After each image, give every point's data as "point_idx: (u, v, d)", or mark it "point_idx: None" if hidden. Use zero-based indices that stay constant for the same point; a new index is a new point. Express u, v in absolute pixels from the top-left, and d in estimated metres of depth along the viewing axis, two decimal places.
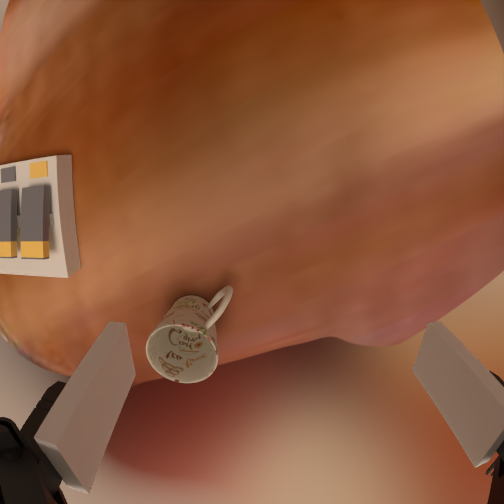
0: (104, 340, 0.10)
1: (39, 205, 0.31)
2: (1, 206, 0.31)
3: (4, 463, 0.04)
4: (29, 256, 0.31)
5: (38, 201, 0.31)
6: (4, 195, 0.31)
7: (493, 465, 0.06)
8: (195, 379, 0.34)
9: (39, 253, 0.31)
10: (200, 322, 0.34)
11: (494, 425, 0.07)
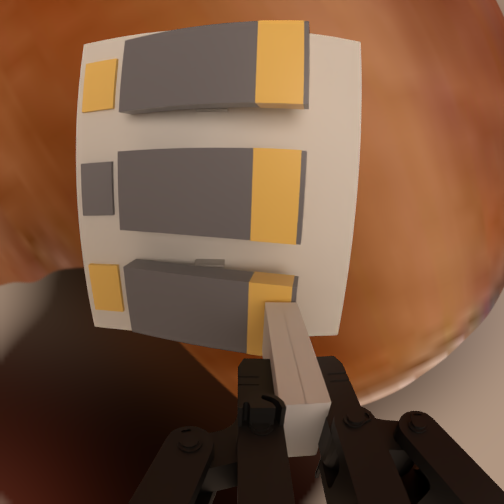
0: (275, 316, 0.13)
1: (166, 42, 0.12)
2: (154, 192, 0.14)
3: (249, 436, 0.07)
4: (300, 68, 0.11)
5: (156, 47, 0.12)
6: (130, 182, 0.14)
7: (318, 469, 0.08)
8: None
9: (291, 32, 0.11)
10: None
11: None
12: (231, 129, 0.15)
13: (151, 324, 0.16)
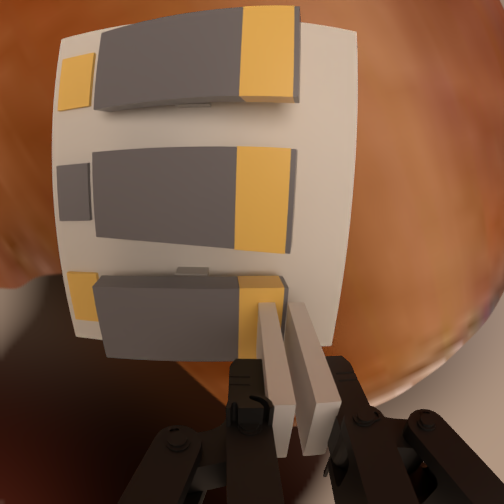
0: (267, 317, 0.13)
1: (144, 32, 0.10)
2: (130, 196, 0.13)
3: (237, 437, 0.07)
4: (290, 57, 0.10)
5: (133, 38, 0.10)
6: (105, 185, 0.13)
7: (327, 468, 0.08)
8: None
9: (280, 18, 0.09)
10: None
11: (309, 410, 0.09)
12: (214, 126, 0.14)
13: (129, 346, 0.14)
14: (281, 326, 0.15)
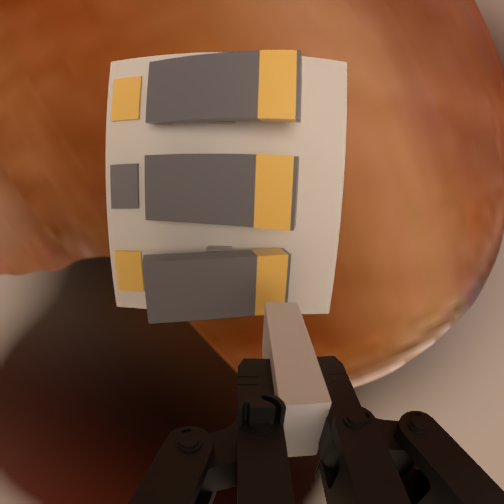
0: (275, 317, 0.13)
1: (185, 65, 0.15)
2: (176, 189, 0.18)
3: (248, 436, 0.07)
4: (293, 90, 0.15)
5: (177, 69, 0.15)
6: (155, 180, 0.18)
7: (319, 469, 0.08)
8: None
9: (286, 60, 0.14)
10: None
11: None
12: (237, 138, 0.19)
13: (170, 311, 0.18)
14: (286, 284, 0.20)
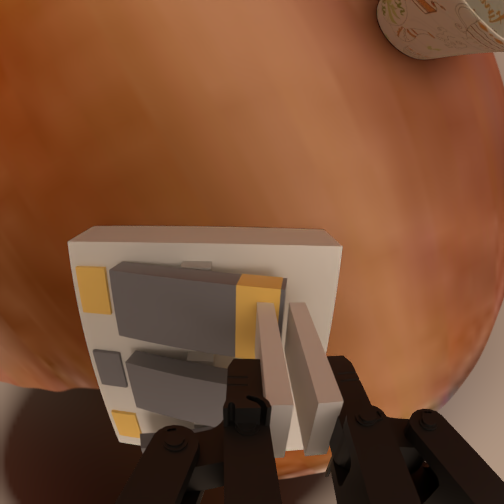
0: (266, 317, 0.13)
1: (150, 287, 0.15)
2: (161, 394, 0.17)
3: (235, 437, 0.07)
4: None
5: (141, 289, 0.15)
6: (140, 384, 0.17)
7: (329, 468, 0.08)
8: None
9: (268, 301, 0.14)
10: None
11: (311, 410, 0.09)
12: None
13: None
14: None
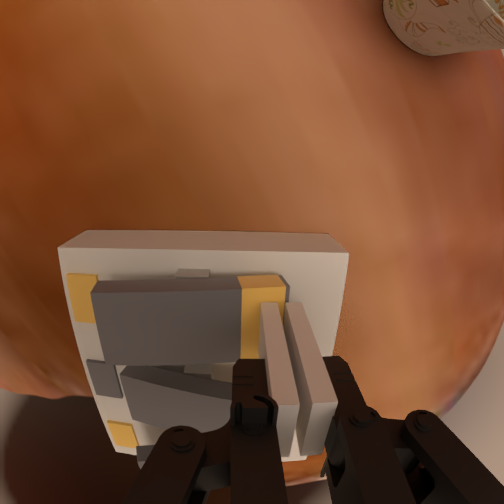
0: (270, 317, 0.13)
1: (143, 305, 0.13)
2: (157, 407, 0.16)
3: (241, 436, 0.07)
4: None
5: (133, 309, 0.13)
6: (135, 397, 0.16)
7: (324, 468, 0.08)
8: None
9: (273, 299, 0.14)
10: None
11: (306, 411, 0.09)
12: None
13: None
14: None
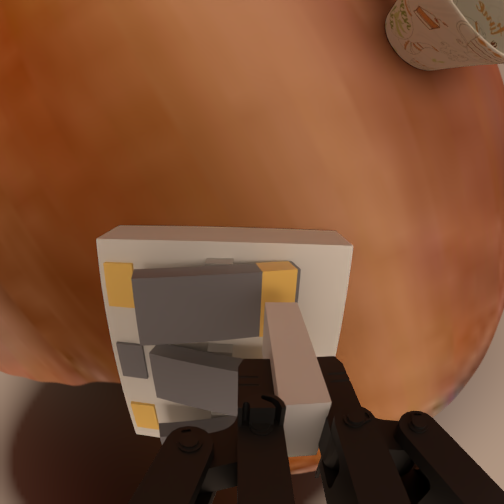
0: (275, 317, 0.13)
1: (179, 288, 0.16)
2: (181, 384, 0.19)
3: (249, 436, 0.07)
4: None
5: (170, 292, 0.16)
6: (162, 374, 0.19)
7: (319, 469, 0.08)
8: None
9: (287, 281, 0.17)
10: None
11: None
12: None
13: None
14: None
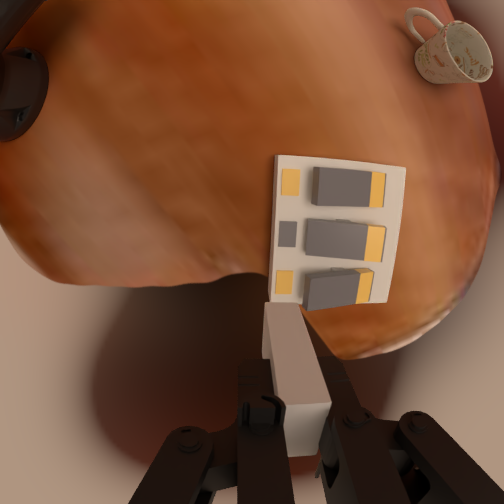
0: (275, 317, 0.13)
1: (339, 174, 0.31)
2: (325, 240, 0.34)
3: (248, 436, 0.07)
4: (382, 193, 0.33)
5: (335, 176, 0.31)
6: (314, 235, 0.34)
7: (319, 469, 0.08)
8: (487, 51, 0.24)
9: (381, 178, 0.33)
10: (439, 31, 0.25)
11: None
12: (351, 211, 0.36)
13: (318, 303, 0.35)
14: (370, 287, 0.37)
